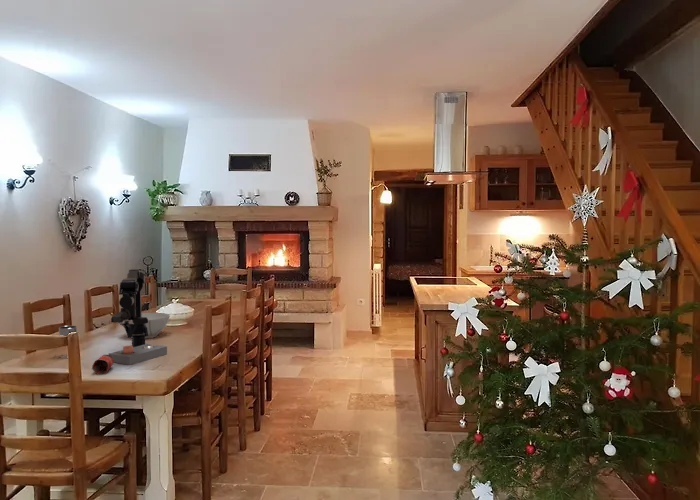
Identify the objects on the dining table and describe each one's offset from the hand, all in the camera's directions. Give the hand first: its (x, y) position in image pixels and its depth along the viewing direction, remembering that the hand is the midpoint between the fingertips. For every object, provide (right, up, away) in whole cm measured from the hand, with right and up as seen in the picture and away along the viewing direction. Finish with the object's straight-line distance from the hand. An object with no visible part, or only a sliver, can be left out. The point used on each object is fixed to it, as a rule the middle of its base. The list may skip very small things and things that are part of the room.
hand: (129, 337), depth 260 cm
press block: (+2, -11, +6) cm, 13 cm away
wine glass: (-34, -11, +8) cm, 37 cm away
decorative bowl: (-14, -9, +59) cm, 61 cm away
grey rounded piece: (+5, -10, +12) cm, 16 cm away
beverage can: (-4, -13, -18) cm, 22 cm away
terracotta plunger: (-1, -8, 0) cm, 8 cm away
